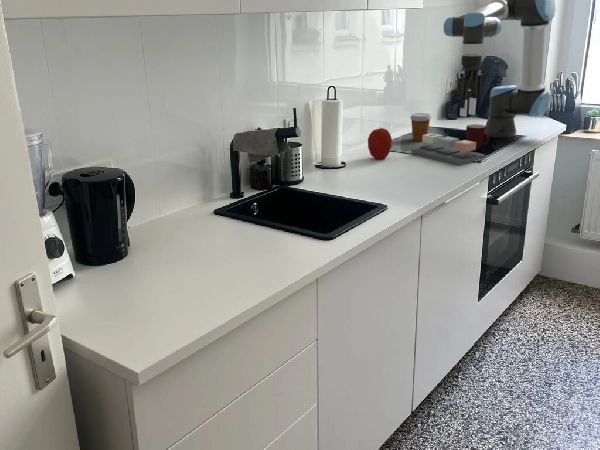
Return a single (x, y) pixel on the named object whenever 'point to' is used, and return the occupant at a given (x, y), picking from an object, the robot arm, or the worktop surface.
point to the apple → (379, 143)
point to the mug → (476, 134)
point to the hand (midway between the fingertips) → (467, 115)
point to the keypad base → (447, 154)
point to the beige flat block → (465, 145)
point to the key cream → (431, 138)
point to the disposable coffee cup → (419, 125)
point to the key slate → (447, 141)
